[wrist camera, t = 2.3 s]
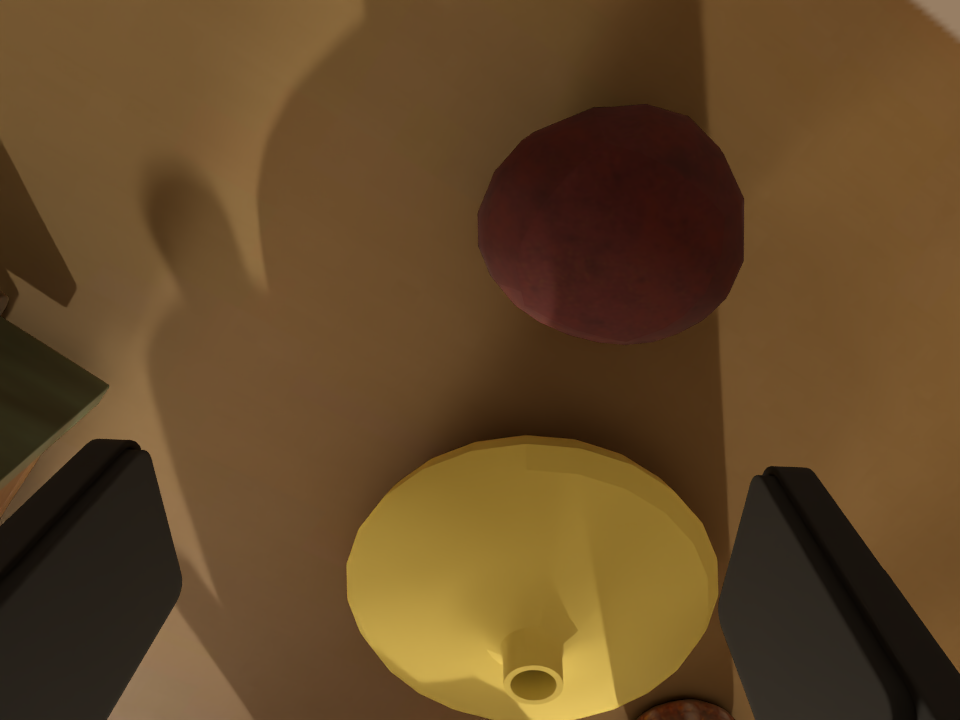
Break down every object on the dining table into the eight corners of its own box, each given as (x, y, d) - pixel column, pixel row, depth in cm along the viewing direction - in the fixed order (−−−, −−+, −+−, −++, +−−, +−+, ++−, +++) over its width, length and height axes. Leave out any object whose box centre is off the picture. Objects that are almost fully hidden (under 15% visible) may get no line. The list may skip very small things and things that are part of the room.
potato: (571, 34, 20) (596, 31, 14) (766, 182, 22) (852, 229, 16) (449, 227, 23) (431, 284, 17) (629, 343, 24) (663, 427, 19)
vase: (521, 330, 24) (527, 430, 18) (771, 544, 29) (846, 684, 22) (293, 551, 30) (237, 686, 24) (531, 702, 34) (537, 849, 28)
